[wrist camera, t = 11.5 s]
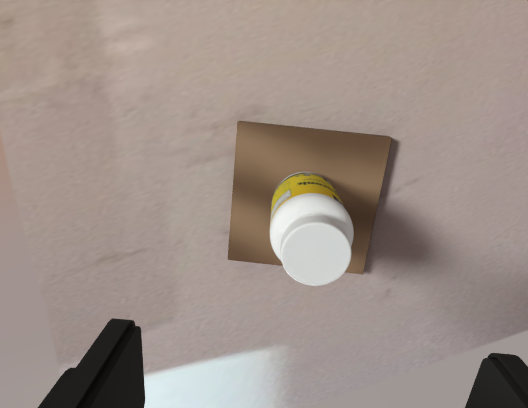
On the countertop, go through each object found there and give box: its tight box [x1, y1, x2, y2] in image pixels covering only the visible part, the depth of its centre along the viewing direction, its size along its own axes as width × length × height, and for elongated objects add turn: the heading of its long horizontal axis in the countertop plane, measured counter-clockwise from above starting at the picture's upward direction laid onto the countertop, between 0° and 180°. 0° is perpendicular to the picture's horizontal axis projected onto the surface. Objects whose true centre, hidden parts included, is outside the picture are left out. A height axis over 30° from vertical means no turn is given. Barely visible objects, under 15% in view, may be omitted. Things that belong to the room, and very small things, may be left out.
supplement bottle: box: [270, 172, 354, 286], centre depth 24 cm, size 5×5×10 cm
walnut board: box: [228, 121, 392, 274], centre depth 29 cm, size 12×12×1 cm
